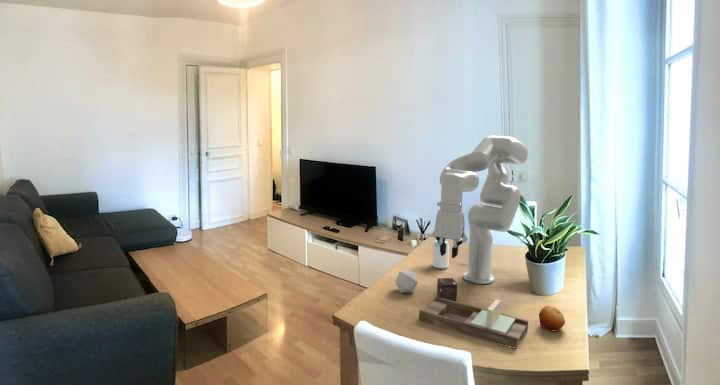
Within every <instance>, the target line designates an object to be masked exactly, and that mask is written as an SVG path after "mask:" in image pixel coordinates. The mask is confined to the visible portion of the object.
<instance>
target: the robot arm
mask: <svg viewBox="0 0 720 385" xmlns="http://www.w3.org/2000/svg"><path fill="white" fill-rule="evenodd" d="M528 156H529V152H528V148H527V146H526V145H525V144H524V143H523V142H521V141H520V140H518V139H516V138H514V137H512V136H503V135H501V136H500V135H498V136H497V135H489V136H486V137H484V138H483V139H482V140H481V141H480V142H479V143H478V145H477V146H476V147H475V148H474V150H473V151H472V152H470V153H467V154H466V155H461V156H460V157H457V158H455V159H453V160H451V161H450V162H449V163H448V164H447V165H446V166H445V167H444V168H443V169H442V172H441V173H440V176H439V184H440V185H441V189H440V190H441V191H440V201H438V202H437V203H436V206H437V207H439V209H437V213H436V216H435V223H434V230H433V232H432V233H431V235H432V237H433V238H434V239H435V240H437V241H438V242H439V244H440V252H441V256H443V255H444V254H446V243H445V240H452V241H453V242H452V243H453V246H452V248H451V258H452V259H454V258H456V257H457V256H458V254H459V246H461V245H462V244H464V243H466V242H468V250H467V252H468V253H467V255H468V256H467V271H465V272H464V273H463V276H462V278H463V279H464V280H465V281H467V282H470V283H473V284H479V285H486V284H491V283H493V282H494V281H495V276H494V274H492V261H493V260H492V258H493V244H494V238H493V235H492V232H491V231H495V232H501V233H505V232H508V231H510V228H512V227H511V226H513V225H512V224H513V222H514V219H515V217H516V213H517V211H518V208H519V205H520V201H521V191H520V189H519V187H517V186H515V185H511V184H507V183H508V181H509V174H508V172H507V170H506V168H505V167H504V166H503V164H508V165H517V166H519V165H523V164H525V162H527V160H528ZM484 170H487V171H488V172H487V176H486V177H485V178H486V179H485V181H484V183H483V187H482V189H481V191H480V194H479V200H480V202H481V203H482V204H474V205H472V206H471V207H469V209H468V211H467V212H468V214H467V219H468V227H469V228H468V229H469V231H468V232H469V236H467V234H466V232H465V229H466V228H465V215H464V211H462V210H463V209H462V208H463V193H464V192H465V193H467V192H470V193H471V192H473V191H475V190H476V189H477V188H478V187H479V184H480V178H479V175H478V174H477V172H482V171H484ZM468 237H469V238H468Z"/></svg>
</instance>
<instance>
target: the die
mask: <svg viewBox="0 0 720 385" xmlns="http://www.w3.org/2000/svg"><path fill="white" fill-rule="evenodd" d="M394 282H395V285H396V287H397V289H398V291H399V293H403V294H404V293H406V294H407V293H408V294H409V293H411V294H414V291H415V289H416V288H417V285H418V283H419V282H418V279H417V277H416V275H415V273H414V271H413V270H412V271H411V270H399V272H398V273H397V276H396V279H395V281H394Z"/></svg>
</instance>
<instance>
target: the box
mask: <svg viewBox="0 0 720 385" xmlns="http://www.w3.org/2000/svg"><path fill="white" fill-rule="evenodd" d="M457 293H458V283H457V282H456V280H455V279H454V277H438V278H437V284H436V297H440V298H444V299H447V300H451V301H455V302H457V296H458V294H457Z"/></svg>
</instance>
